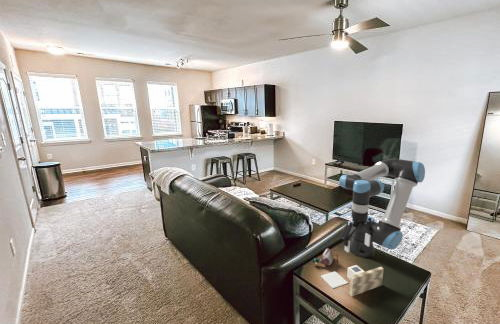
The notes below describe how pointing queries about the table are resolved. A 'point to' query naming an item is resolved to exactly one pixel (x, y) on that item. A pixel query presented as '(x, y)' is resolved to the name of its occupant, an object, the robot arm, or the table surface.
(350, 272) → the cream cube
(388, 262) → the table surface
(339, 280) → the felt mat
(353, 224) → the robot arm
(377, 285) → the birch screen
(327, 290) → the table surface
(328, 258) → the decorative duck model
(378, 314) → the table surface
